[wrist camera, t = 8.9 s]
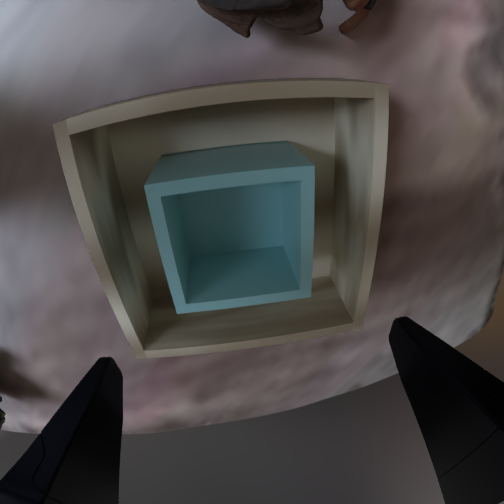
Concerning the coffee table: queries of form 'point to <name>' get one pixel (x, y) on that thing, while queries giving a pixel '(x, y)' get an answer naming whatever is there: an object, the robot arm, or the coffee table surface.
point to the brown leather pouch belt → (281, 14)
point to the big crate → (217, 135)
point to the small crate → (234, 224)
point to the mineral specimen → (1, 415)
